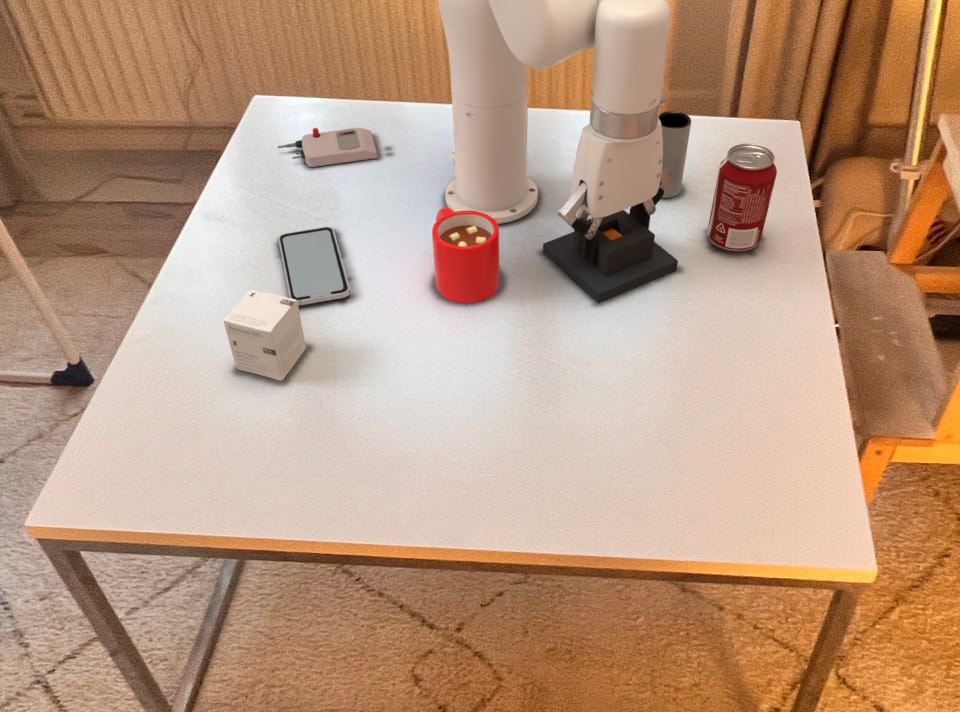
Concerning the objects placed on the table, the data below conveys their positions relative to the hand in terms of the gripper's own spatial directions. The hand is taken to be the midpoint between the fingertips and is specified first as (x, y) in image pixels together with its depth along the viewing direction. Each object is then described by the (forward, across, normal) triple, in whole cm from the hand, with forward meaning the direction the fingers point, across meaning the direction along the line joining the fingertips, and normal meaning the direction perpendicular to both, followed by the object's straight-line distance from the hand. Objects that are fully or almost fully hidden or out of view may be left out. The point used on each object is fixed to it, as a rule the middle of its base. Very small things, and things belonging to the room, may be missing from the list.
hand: (612, 248), depth 115 cm
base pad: (+2, 0, 0) cm, 2 cm away
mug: (+2, +17, -8) cm, 19 cm away
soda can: (+2, -16, +5) cm, 17 cm away
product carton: (+2, +43, -6) cm, 44 cm away
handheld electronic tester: (+2, +18, -43) cm, 47 cm away
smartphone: (+2, +32, -19) cm, 38 cm away
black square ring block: (+1, 0, 0) cm, 1 cm away
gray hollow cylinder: (+2, -16, -9) cm, 19 cm away
